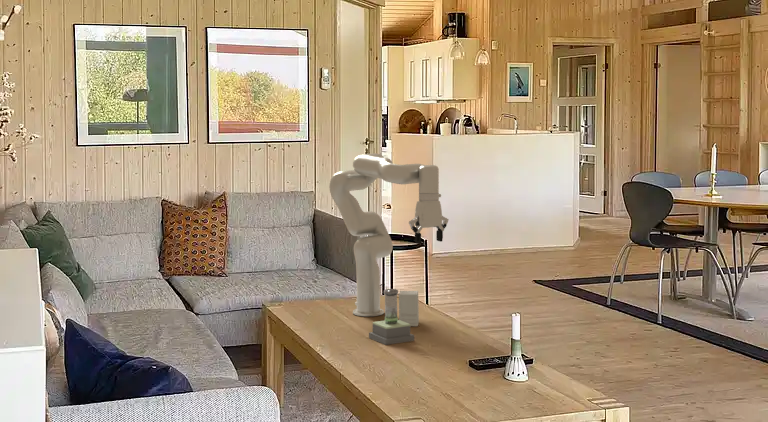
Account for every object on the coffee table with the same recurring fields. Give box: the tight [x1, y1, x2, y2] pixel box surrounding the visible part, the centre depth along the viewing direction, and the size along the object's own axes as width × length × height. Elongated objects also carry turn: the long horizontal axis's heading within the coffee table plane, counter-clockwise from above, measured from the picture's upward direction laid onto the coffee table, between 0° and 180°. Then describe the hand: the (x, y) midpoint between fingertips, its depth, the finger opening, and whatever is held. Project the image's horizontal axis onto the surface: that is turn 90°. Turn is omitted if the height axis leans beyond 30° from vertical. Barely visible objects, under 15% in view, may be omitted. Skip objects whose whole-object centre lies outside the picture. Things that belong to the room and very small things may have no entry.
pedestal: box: [368, 319, 415, 346], centre depth 354 cm, size 12×12×6 cm
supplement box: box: [398, 290, 420, 327], centre depth 377 cm, size 7×7×13 cm
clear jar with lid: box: [383, 288, 399, 324], centre depth 353 cm, size 5×5×12 cm
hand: (428, 242), depth 373 cm, fingers open, 9 cm apart
